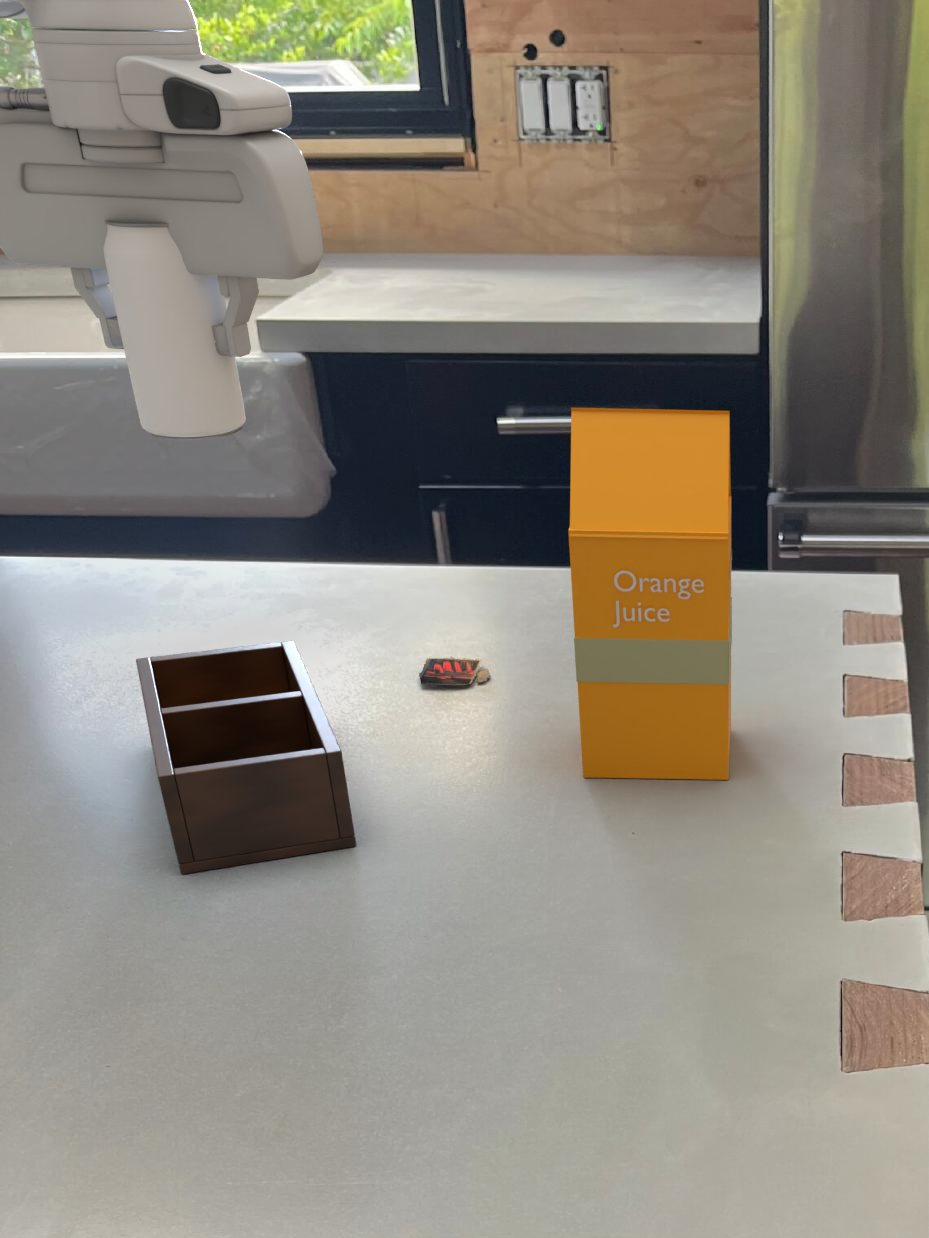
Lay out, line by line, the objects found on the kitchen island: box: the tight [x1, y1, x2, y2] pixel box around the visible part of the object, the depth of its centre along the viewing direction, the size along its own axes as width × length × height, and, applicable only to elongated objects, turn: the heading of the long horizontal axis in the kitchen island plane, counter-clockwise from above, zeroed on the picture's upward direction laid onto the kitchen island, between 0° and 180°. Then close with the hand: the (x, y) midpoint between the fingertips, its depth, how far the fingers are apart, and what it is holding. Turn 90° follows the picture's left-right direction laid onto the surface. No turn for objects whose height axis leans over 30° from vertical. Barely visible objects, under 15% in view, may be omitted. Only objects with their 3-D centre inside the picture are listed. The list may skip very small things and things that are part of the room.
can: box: [103, 220, 247, 441], centre depth 93 cm, size 6×6×12 cm
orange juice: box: [567, 407, 733, 781], centre depth 86 cm, size 8×9×20 cm
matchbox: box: [418, 656, 491, 689], centre depth 101 cm, size 5×5×1 cm
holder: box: [135, 640, 357, 875], centre depth 85 cm, size 9×17×6 cm, turn 23°
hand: (179, 351), depth 94 cm, fingers closed on can, 6 cm apart
